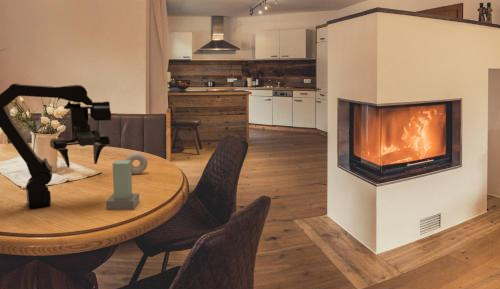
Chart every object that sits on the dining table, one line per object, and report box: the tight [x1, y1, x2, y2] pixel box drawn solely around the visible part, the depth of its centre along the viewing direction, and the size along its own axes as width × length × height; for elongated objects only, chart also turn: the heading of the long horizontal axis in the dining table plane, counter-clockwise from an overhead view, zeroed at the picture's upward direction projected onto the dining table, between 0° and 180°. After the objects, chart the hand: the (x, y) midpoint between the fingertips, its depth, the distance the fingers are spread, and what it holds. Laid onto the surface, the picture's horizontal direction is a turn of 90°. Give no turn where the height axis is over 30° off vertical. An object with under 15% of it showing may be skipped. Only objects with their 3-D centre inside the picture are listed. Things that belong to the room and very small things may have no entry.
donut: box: [125, 151, 148, 175], centre depth 184 cm, size 10×4×10 cm, turn 109°
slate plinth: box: [105, 192, 140, 211], centre depth 142 cm, size 9×9×3 cm
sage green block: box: [112, 159, 133, 199], centre depth 141 cm, size 5×5×12 cm
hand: (82, 165), depth 144 cm, fingers open, 9 cm apart
